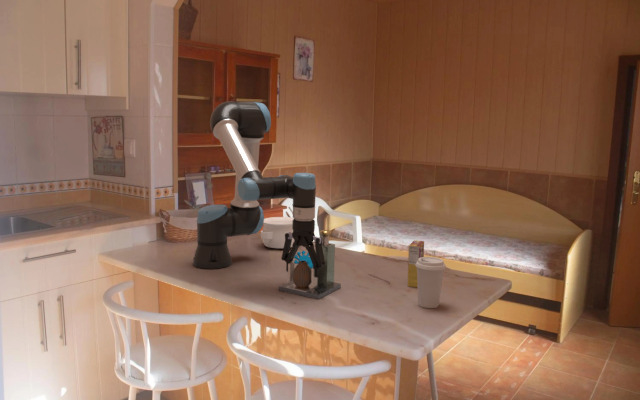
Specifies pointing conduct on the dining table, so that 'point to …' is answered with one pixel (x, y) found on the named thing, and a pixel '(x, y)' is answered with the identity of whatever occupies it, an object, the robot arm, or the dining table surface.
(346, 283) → the dining table surface
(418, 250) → the candy box
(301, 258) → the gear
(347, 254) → the dining table surface
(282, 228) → the pot
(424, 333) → the dining table surface
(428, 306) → the coffee cup
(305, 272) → the vase
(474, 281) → the dining table surface
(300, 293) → the base
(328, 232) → the ram pin
